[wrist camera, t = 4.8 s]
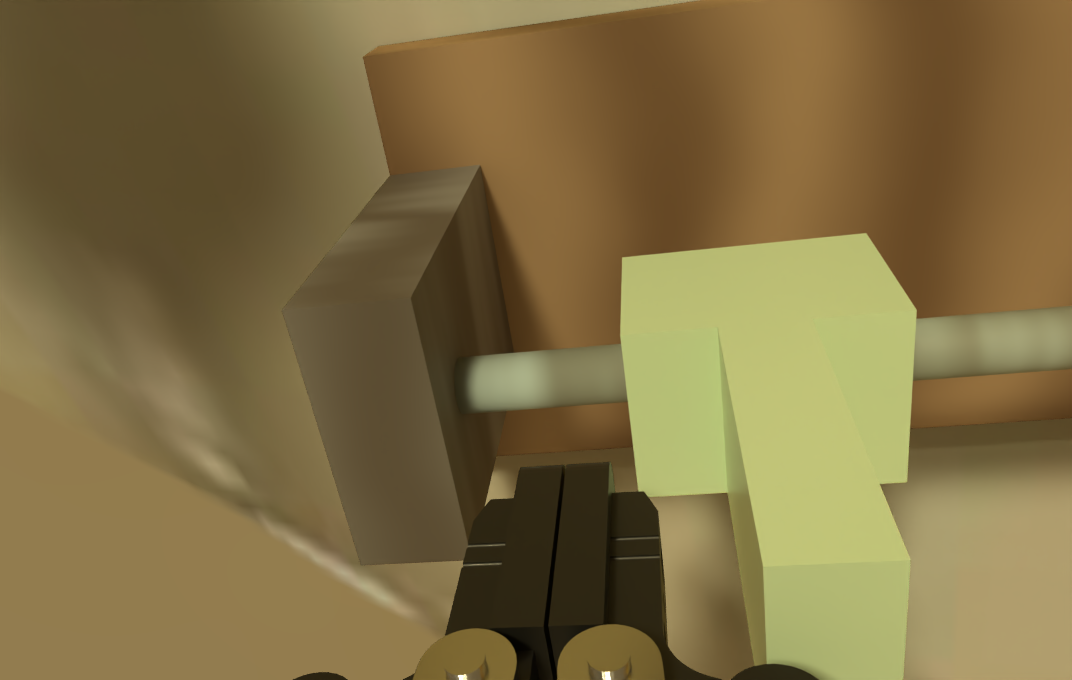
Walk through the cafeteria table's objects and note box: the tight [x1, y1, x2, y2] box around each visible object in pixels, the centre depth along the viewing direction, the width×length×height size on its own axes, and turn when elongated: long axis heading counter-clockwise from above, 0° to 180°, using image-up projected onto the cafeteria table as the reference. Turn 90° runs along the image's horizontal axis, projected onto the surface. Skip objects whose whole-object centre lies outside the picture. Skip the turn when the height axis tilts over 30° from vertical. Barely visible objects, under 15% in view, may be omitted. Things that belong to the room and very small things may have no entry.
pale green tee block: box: [620, 233, 917, 680], centre depth 15 cm, size 5×4×10 cm
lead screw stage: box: [282, 0, 1072, 565], centre depth 19 cm, size 25×12×10 cm, turn 98°
